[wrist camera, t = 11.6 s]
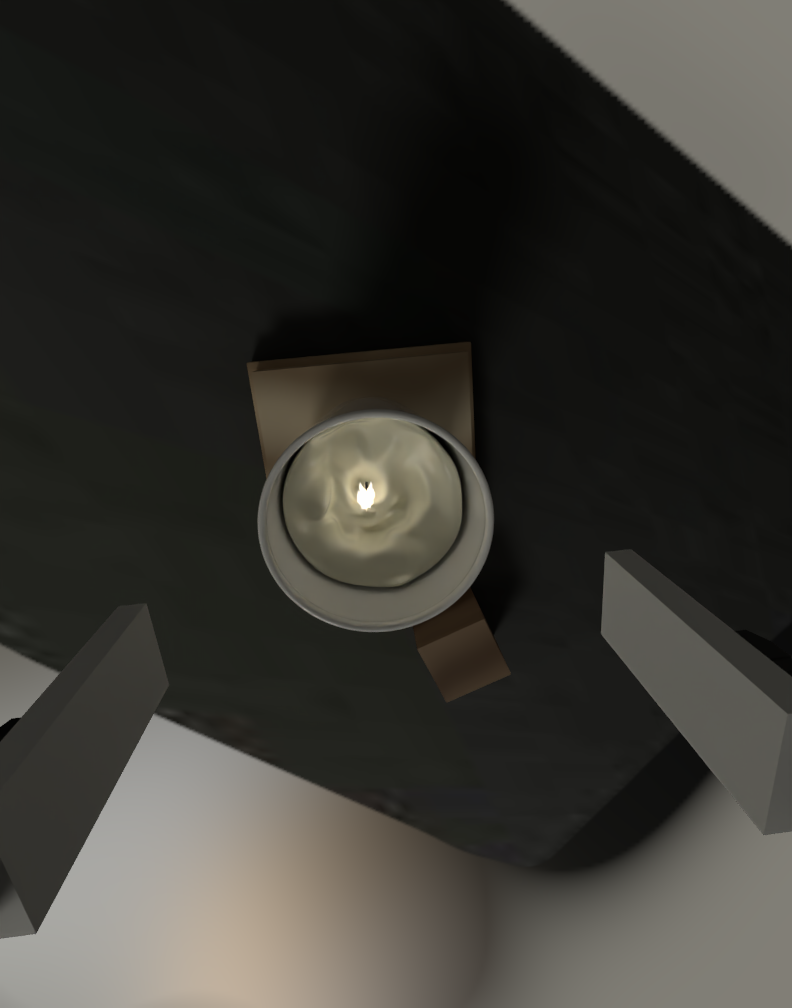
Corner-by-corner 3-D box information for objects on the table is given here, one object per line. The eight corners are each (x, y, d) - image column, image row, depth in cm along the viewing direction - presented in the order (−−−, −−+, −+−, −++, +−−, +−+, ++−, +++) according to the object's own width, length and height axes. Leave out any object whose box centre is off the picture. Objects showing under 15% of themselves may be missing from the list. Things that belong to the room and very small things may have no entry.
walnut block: (410, 611, 40) (417, 649, 35) (469, 584, 39) (484, 618, 34) (436, 660, 41) (446, 702, 36) (493, 634, 41) (511, 674, 36)
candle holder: (281, 391, 31) (235, 424, 19) (442, 375, 31) (491, 397, 20) (305, 542, 34) (278, 645, 22) (452, 525, 34) (498, 619, 23)
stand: (251, 361, 33) (241, 364, 30) (466, 341, 33) (476, 342, 31) (285, 559, 37) (279, 577, 35) (474, 539, 38) (483, 555, 35)
